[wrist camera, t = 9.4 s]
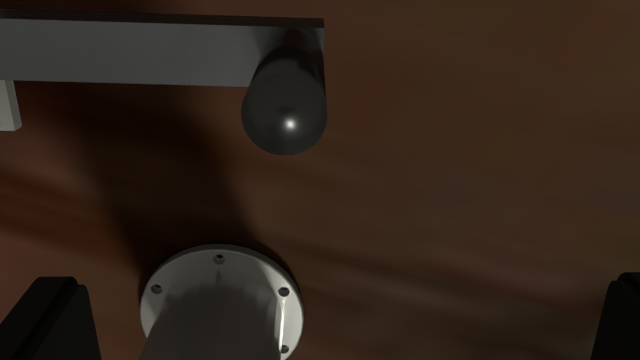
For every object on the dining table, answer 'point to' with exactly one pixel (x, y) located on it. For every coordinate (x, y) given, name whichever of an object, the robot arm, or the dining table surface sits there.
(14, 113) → the bearing block
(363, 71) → the dining table surface
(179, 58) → the shaft
